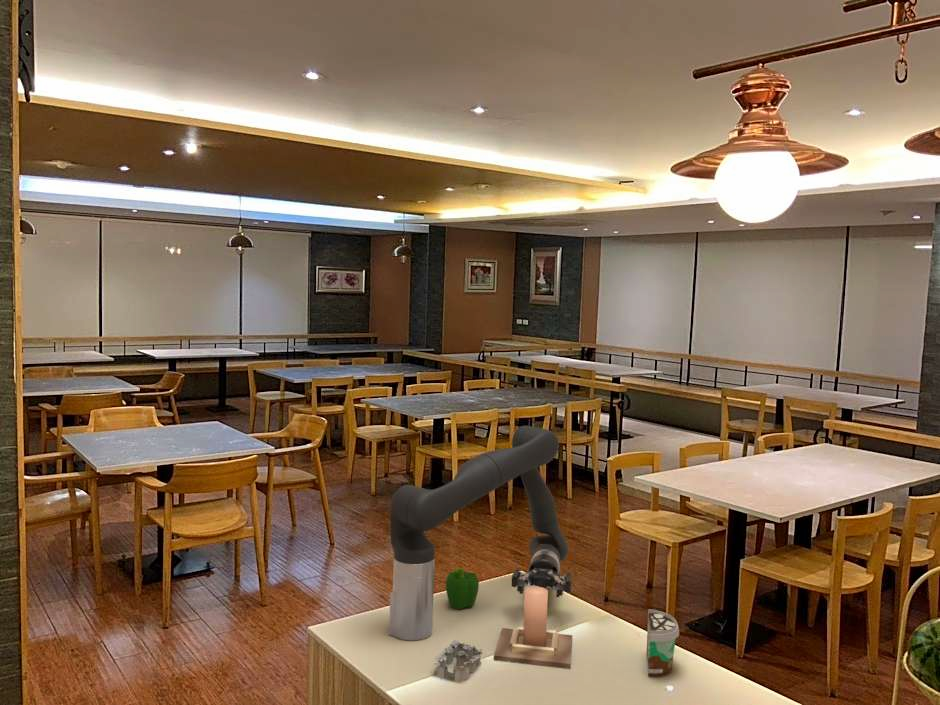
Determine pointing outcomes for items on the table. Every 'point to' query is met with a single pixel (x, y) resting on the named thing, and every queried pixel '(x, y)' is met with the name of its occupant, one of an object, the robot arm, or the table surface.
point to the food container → (660, 643)
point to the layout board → (534, 649)
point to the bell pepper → (461, 588)
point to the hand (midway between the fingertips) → (539, 591)
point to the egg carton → (458, 661)
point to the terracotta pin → (535, 616)
